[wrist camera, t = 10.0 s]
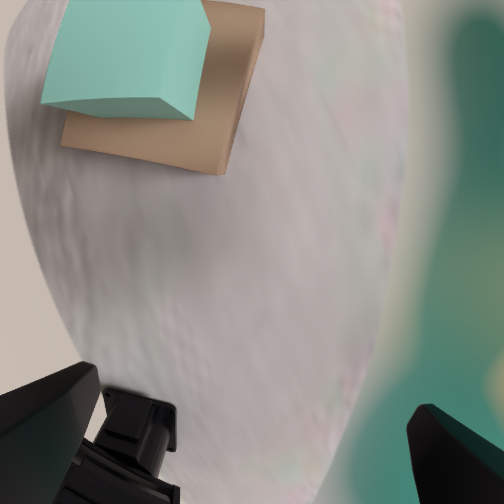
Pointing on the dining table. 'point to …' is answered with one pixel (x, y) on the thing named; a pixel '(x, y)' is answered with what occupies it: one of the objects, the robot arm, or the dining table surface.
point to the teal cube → (128, 58)
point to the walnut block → (207, 105)
